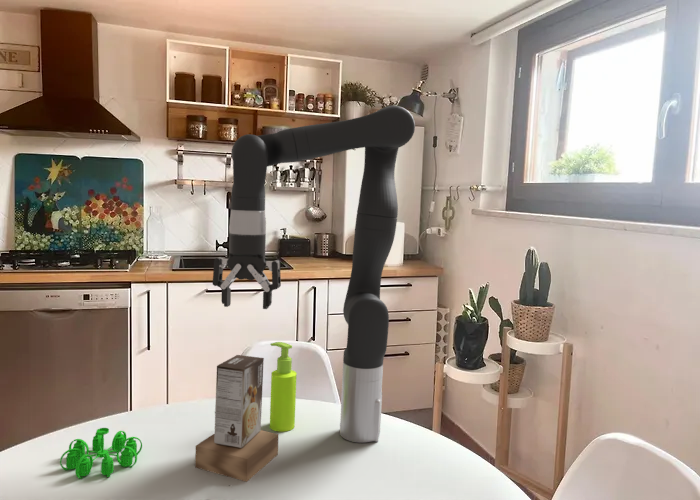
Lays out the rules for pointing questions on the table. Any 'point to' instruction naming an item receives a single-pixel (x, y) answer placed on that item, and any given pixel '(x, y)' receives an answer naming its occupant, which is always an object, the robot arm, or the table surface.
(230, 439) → the coffee box
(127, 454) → the chandelier
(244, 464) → the walnut block
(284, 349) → the soap dispenser
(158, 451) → the table surface
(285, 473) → the table surface
